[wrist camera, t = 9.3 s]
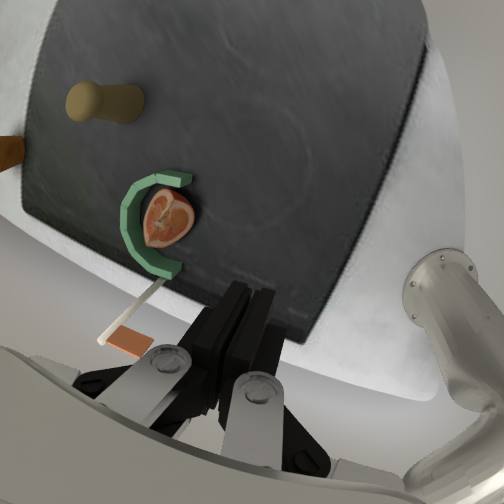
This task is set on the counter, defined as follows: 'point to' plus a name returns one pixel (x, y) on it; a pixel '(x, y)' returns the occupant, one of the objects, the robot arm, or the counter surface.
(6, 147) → the disposable coffee cup
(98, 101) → the cork
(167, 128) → the counter surface
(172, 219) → the fruit slice
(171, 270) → the green segmented arc
